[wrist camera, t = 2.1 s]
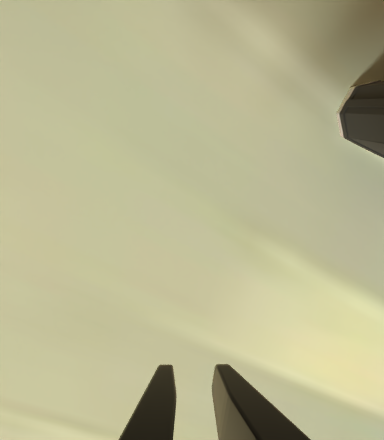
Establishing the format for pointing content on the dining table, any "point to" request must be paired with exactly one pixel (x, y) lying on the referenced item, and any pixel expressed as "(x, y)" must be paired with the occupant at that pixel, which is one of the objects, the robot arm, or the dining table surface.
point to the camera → (364, 116)
